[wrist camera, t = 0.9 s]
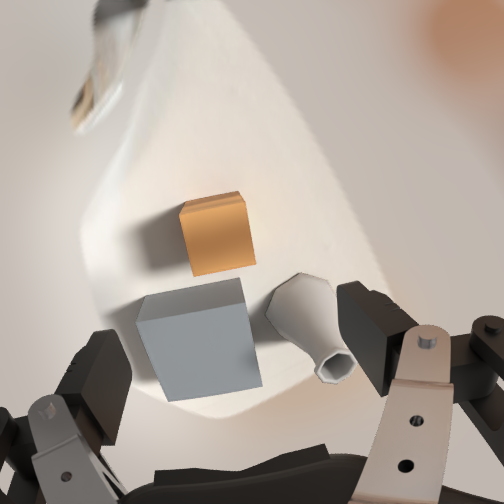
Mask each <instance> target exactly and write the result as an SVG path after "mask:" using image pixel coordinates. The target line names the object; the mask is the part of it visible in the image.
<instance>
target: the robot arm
mask: <svg viewBox="0 0 504 504" xmlns="http://www.w3.org/2000/svg"><path fill="white" fill-rule="evenodd" d="M337 310H338V327H339V331H340V335H341V337H342V339H343V341H344V342H345V344H346V345H347V347H348V348H349V350H350V351H351V353H352V354H353V356H354V357H355V359H356V360H357V362H358V363H359V365H360V366H361V367H362V369H363V371H364V372H365V374H366V375H367V377H368V378H369V380H370V381H371V383H372V384H373V385H374V387H375V389H376V390H377V392H378V393H379V395H380V396H381V397H383V396H386V395H388V397H387V401H386V404H385V408H384V411H383V414H382V418H381V421H380V424H379V427H378V430H377V433H376V436H375V439H374V442H373V445H372V448H371V450H370V453H369V456H368V457H365V456H360V455H354V454H329V453H328V451H327V448H326V446H325V444H320V445H317V446H313V447H310V448H306V449H302V450H298V451H293V452H289V453H285V454H282V455H279V456H277V457H275V458H272V459H270V460H267V461H265V462H263V463H260V464H258V465H255V466H253V467H250V468H248V469H245V470H242V471H220V470H208V469H199V468H189V469H176V470H156V471H155V475H154V482H153V483H149V484H147V485H144V486H141V487H139V488H137V489H134V490H133V491H131V492H129V493H128V491H127V490H126V489H125V487H124V486H123V485H122V483H121V482H120V480H119V479H118V477H117V476H116V474H115V473H114V471H113V470H112V468H111V467H110V465H109V464H108V462H107V460H106V459H105V457H104V456H103V455H102V453H101V452H100V449H101V446H104V445H105V446H106V445H107V446H113V445H115V442H116V438H117V434H118V430H119V426H120V421H121V418H122V414H123V410H124V406H125V402H126V398H127V395H128V391H129V388H130V384H131V381H132V370H131V366H130V363H129V361H128V358H127V356H126V354H125V351H124V349H123V347H122V344H121V342H120V340H119V337H118V335H117V333H116V331H115V330H113V329H109V330H102V331H96V332H94V333H93V334H92V335H91V337H90V339H89V341H88V343H87V345H86V346H84V347H83V348H82V349H81V350H80V351H79V352H77V353H76V354H75V356H74V358H73V360H72V361H71V365H69V367H68V369H67V370H66V371H67V372H66V373H65V374H64V376H63V378H62V380H61V382H60V384H59V385H58V388H57V389H56V391H55V393H54V394H51V395H46V396H44V397H41V398H40V399H38V400H37V401H35V402H34V403H33V404H32V406H31V407H30V409H29V411H28V415H27V416H23V417H19V418H15V419H13V417H12V416H11V414H10V413H9V412H8V410H7V409H6V408H4V407H0V471H1V469H2V466H3V464H4V461H6V462H7V463H8V464H9V465H10V467H12V469H13V470H14V471H15V472H14V475H13V478H12V481H11V484H10V487H9V490H8V493H7V495H5V494H4V493H3V492H2V490H1V489H0V504H46V503H47V504H504V502H499V501H495V500H491V499H487V498H483V497H480V496H476V495H472V494H469V493H465V492H462V491H459V490H456V489H452V488H449V487H446V486H443V485H442V482H443V476H444V470H445V465H446V459H447V453H448V446H449V438H450V430H451V420H452V408H453V404H454V403H458V404H459V405H460V406H461V408H462V409H463V410H464V412H465V413H466V414H467V416H468V417H469V418H470V420H471V421H472V423H473V424H474V425H475V427H476V428H477V429H478V430H479V432H480V434H481V435H482V436H483V437H484V439H485V440H486V442H487V443H488V445H489V446H490V447H491V449H492V450H493V452H494V453H495V455H496V456H497V458H498V459H499V461H500V462H501V463H502V465H503V466H504V391H503V390H502V388H501V387H500V386H499V385H498V384H497V383H496V382H497V380H498V377H499V376H500V377H501V378H502V379H503V381H504V319H503V318H500V317H497V316H482V317H479V318H477V319H476V320H475V321H474V322H473V325H472V330H471V333H470V334H464V335H457V336H449V334H448V332H446V331H445V330H444V329H442V328H440V327H438V326H434V325H419V324H418V323H417V322H416V321H414V320H413V319H412V318H411V317H410V316H409V315H408V314H407V313H406V312H405V311H404V310H402V309H400V307H399V306H398V305H397V304H396V303H394V302H393V301H392V300H391V299H390V298H389V297H388V296H387V295H385V294H383V293H380V292H378V291H375V290H372V291H369V290H368V289H367V288H366V287H365V286H364V285H363V284H361V283H360V282H359V281H354V282H349V283H345V284H341V285H338V286H337Z"/></svg>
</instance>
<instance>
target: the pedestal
mask: <svg viewBox="0 0 504 504" xmlns="http://www.w3.org/2000/svg"><path fill="white" fill-rule="evenodd" d="M135 323H136V326H137V329H138V331H139V334H140V337H141V339H142V342H143V344H144V347H145V349H146V352H147V354H148V357H149V359H150V362H151V364H152V366H153V369H154V371H155V373H156V376H157V378H158V380H159V382H160V385H161V387H162V389H163V391H164V394H165V396H166V398H167V400H168V402H170V401H178V400H186V399H193V398H200V397H207V396H213V395H219V394H225V393H231V392H236V391H242V390H247V389H252V388H257V387H262V386H263V385H262V380H261V376H260V371H259V366H258V361H257V356H256V352H255V347H254V342H253V337H252V332H251V327H250V322H249V317H248V312H247V307H246V302H245V298H244V294H243V290H242V285H241V281H240V278H235V279H230V280H225V281H220V282H215V283H210V284H205V285H200V286H195V287H189V288H184V289H179V290H174V291H169V292H163V293H158V294H153V295H147V296H145V299H144V301H143V304H142V306H141V309H140V311H139V314H138V316H137V319H136V321H135Z"/></svg>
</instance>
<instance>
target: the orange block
mask: <svg viewBox="0 0 504 504" xmlns="http://www.w3.org/2000/svg"><path fill="white" fill-rule="evenodd" d="M179 217H180V222H181V226H182V231H183V235H184V239H185V243H186V248H187V252H188V256H189V260H190V264H191V268H192V272H193V276H194V277H195V276H200V275H205V274H210V273H215V272H221V271H226V270H231V269H236V268H240V267H245V266H250V265H255V264H256V260H255V255H254V249H253V243H252V237H251V232H250V226H249V220H248V215H247V209H246V203H245V201H244V199H243V198H242V196H241V195H240V193H239V192H238V191H235V192H230V193H225V194H220V195H215V196H210V197H205V198H200V199H195V200H190V201H186V202H185V204H184V206H183V208H182V210H181V212H180V214H179Z"/></svg>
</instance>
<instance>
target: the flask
mask: <svg viewBox="0 0 504 504" xmlns="http://www.w3.org/2000/svg"><path fill="white" fill-rule="evenodd" d="M265 316H266V317H267V319H268V320H269V321H270V323H271V324H272V325H273V326H274V328H275V329H276V330H277V332H278V333H279V334H280V335H281V336H282V337H284V338H285V339H287V340H289V341H290V342H292V343H293V344H295V345H296V346H298V347H299V348H301V349H302V350H303V351H305V352H306V353H308V354H309V355H310V356H311V358H312V359H313V360H314V362H315V364H316V367H315V368H314V372H315V373H316V375H317V376H318V377H319V379H320V380H321V381H322V382H323V383H330V384H338V383H339V382H341V381H343V380H344V379H345V378H347V377H349V376H350V375H351V374H352V372H353V370H354V369H355V367H356V365H357V364H358V362H357V360H356V359H355V357H354V356H353V354H352V353H351V351H350V350H349V349H345V347H344V343H343V340H342V337H341V335H340V331H339V327H338V310H337V296H336V294H335V292H334V291H333V289H332V287H331V285H330V284H329V282H328V280H325V279H321V278H318V277H315V276H311V275H308V274H305V273H302V272H301V273H300V274H298V275H297V276H295V277H294V278H292V279H291V280H289V281H288V282H286V283H285V284H283V285H282V286H280V287H279V288H277V289H276V290H275V292H274V295H273V297H272V299H271V302H270V304H269V307H268V309H267V311H266V314H265Z"/></svg>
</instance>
